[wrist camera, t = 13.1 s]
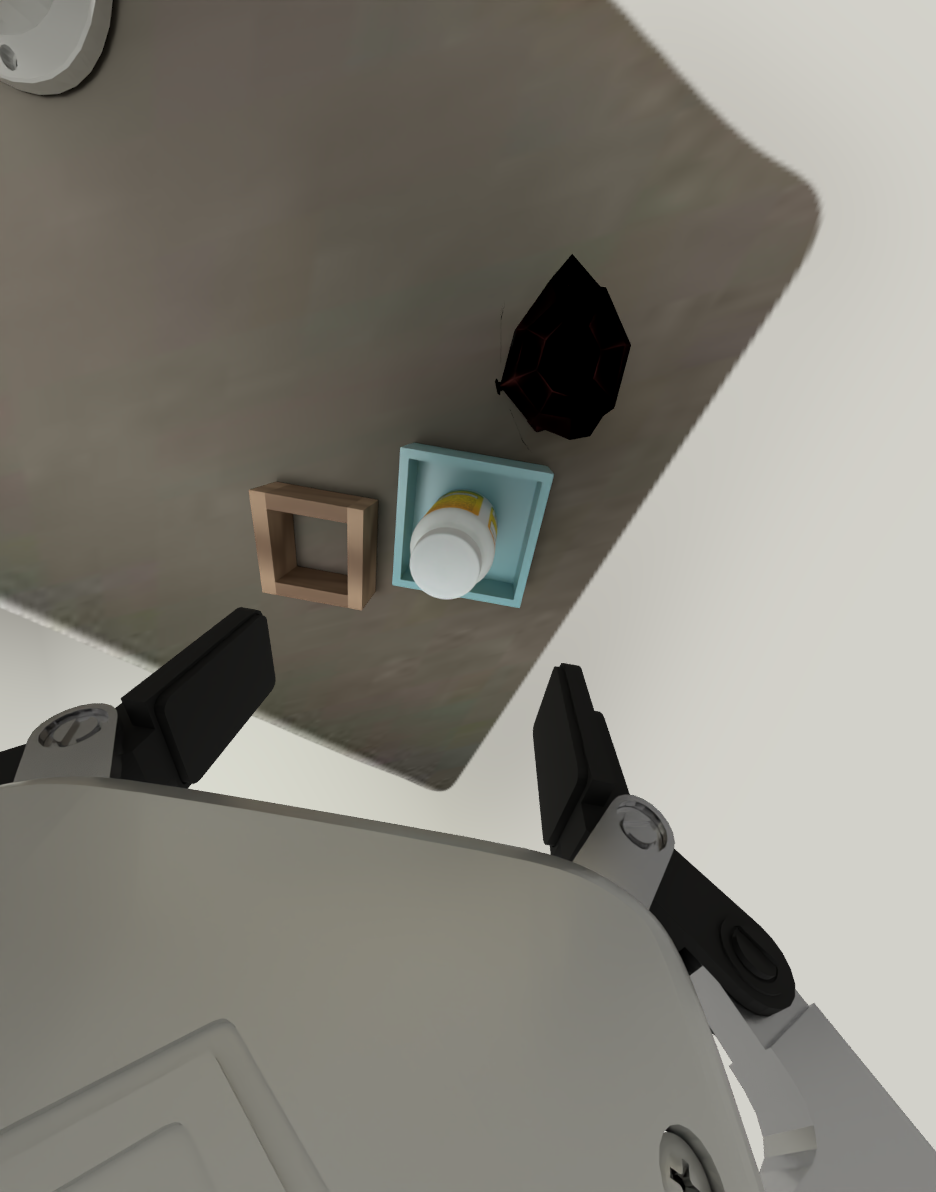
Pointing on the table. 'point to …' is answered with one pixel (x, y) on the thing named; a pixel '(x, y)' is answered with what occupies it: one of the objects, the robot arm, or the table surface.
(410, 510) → the tray
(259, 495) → the hollow wooden block
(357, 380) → the table surface
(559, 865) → the robot arm
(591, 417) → the cat figurine
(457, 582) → the supplement bottle
